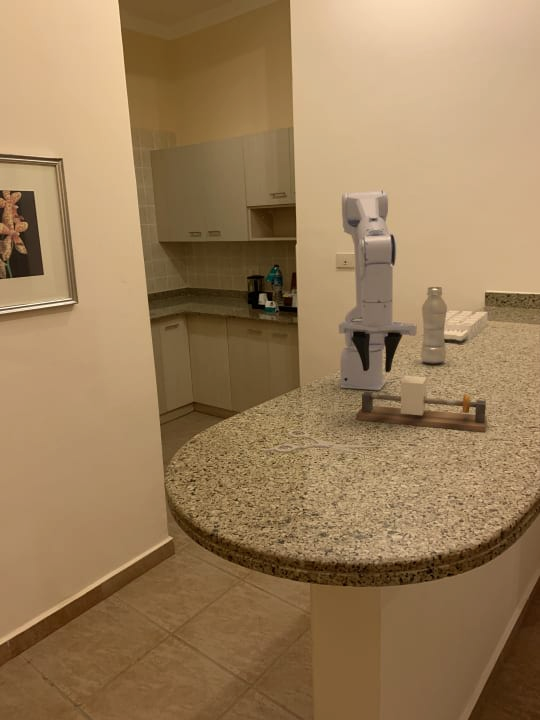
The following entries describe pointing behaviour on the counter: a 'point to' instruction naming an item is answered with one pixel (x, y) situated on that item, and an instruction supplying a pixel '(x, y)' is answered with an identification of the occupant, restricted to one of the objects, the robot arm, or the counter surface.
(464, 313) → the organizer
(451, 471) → the counter surface
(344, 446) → the scissors
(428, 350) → the plastic bottle
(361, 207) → the robot arm
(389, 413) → the rod base
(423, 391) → the tan wooden block
